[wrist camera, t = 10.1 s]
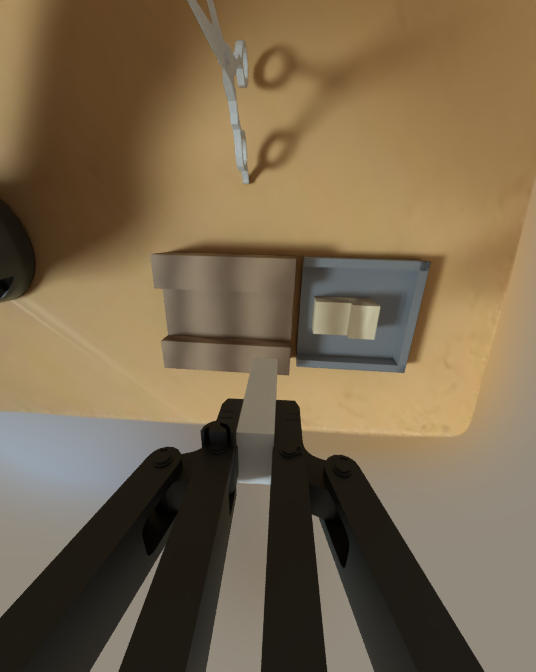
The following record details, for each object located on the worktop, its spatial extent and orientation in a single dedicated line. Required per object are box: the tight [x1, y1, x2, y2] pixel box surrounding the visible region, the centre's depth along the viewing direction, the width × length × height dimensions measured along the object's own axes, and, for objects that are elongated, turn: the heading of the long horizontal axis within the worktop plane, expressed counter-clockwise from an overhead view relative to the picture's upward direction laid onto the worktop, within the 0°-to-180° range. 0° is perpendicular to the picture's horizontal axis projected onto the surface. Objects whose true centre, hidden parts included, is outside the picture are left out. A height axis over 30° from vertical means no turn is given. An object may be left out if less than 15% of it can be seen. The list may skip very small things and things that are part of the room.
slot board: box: [150, 252, 296, 375], centre depth 33 cm, size 16×14×5 cm
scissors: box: [187, 0, 249, 184], centre depth 19 cm, size 11×1×20 cm, turn 179°
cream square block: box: [312, 296, 351, 335], centre depth 33 cm, size 4×4×3 cm
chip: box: [347, 298, 380, 340], centre depth 32 cm, size 4×4×3 cm
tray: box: [296, 256, 431, 373], centre depth 33 cm, size 14×14×2 cm
